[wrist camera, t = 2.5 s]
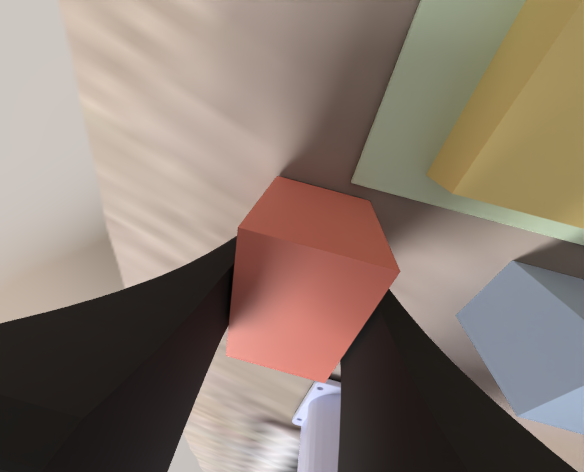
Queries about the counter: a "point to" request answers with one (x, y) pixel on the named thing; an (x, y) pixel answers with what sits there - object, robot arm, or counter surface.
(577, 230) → the baseplate
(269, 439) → the counter surface
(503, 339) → the blue brick
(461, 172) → the mustard brick
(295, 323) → the red brick
